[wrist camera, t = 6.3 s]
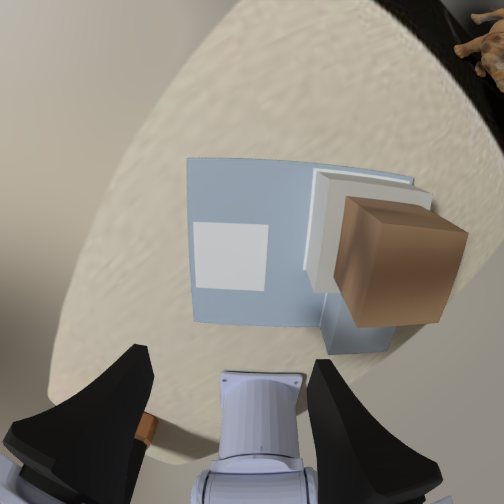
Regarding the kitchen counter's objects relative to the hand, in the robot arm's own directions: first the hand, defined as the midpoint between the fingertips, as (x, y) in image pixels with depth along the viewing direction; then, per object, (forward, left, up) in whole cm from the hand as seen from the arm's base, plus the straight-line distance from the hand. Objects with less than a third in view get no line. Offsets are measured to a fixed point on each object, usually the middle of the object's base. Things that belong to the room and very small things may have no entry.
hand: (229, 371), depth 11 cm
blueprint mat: (+1, -4, -10) cm, 11 cm away
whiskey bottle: (-25, +17, -11) cm, 32 cm away
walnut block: (+4, -8, -6) cm, 11 cm away
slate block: (-3, -9, -10) cm, 14 cm away
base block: (+4, -8, -10) cm, 13 cm away
